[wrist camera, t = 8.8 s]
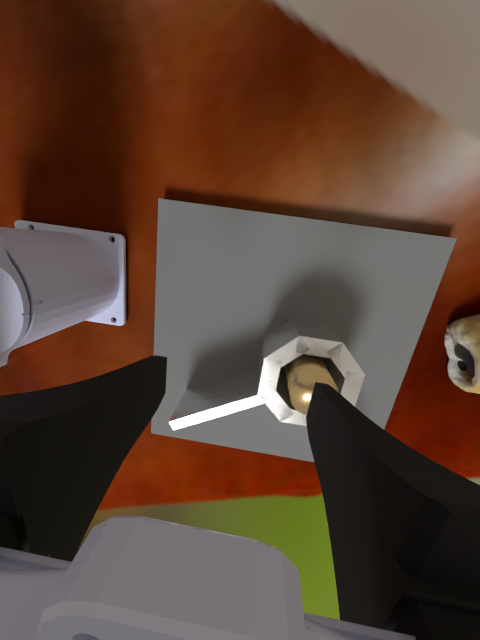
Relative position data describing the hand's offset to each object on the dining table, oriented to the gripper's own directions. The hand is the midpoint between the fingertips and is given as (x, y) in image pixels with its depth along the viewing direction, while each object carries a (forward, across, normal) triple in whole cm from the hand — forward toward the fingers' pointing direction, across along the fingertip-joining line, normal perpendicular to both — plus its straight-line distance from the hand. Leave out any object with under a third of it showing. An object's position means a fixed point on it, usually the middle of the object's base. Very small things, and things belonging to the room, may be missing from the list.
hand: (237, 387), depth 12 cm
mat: (+10, -3, +2) cm, 11 cm away
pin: (+9, -5, +2) cm, 11 cm away
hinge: (+9, -3, +5) cm, 11 cm away
